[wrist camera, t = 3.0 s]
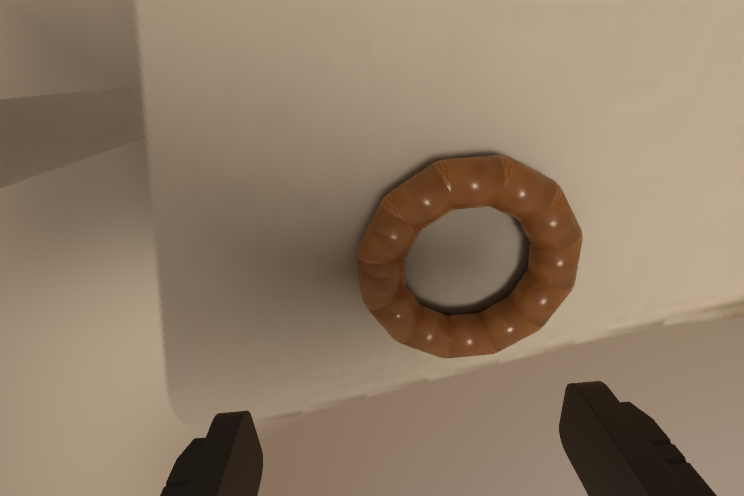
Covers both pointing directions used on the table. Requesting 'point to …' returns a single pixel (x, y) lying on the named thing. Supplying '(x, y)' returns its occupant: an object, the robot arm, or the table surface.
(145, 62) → the table surface
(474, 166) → the ring
